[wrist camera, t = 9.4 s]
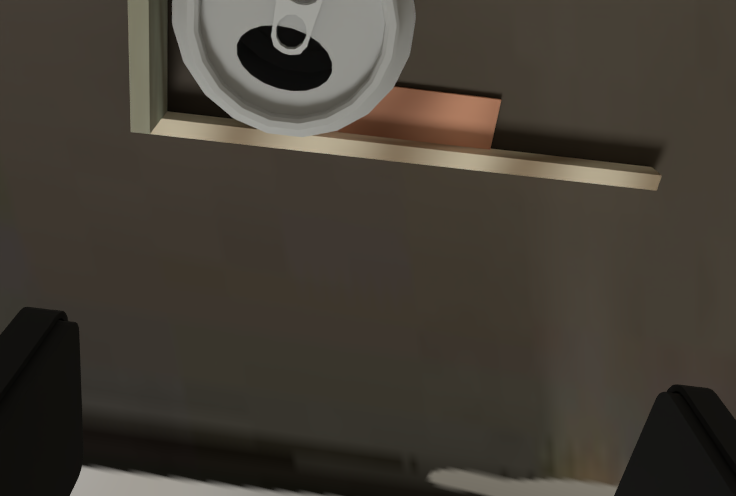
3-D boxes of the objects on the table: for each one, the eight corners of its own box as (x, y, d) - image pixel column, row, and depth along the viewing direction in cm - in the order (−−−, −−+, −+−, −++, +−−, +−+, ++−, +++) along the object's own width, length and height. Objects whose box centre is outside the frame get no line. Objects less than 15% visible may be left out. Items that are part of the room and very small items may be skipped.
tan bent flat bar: (759, -153, 29) (811, -159, 26) (646, 181, 35) (677, 209, 32) (146, -255, 26) (121, -275, 23) (150, 125, 33) (131, 149, 30)
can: (205, 41, 31) (139, 117, 21) (239, -140, 28) (182, -161, 17) (363, 87, 33) (378, 181, 22) (413, -81, 29) (459, -67, 19)
